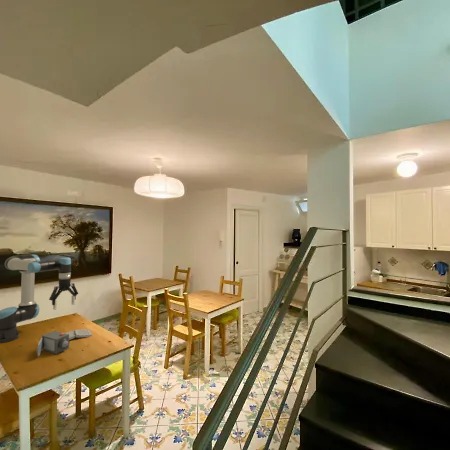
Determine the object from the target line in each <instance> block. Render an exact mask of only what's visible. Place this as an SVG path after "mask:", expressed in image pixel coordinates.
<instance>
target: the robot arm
mask: <svg viewBox="0 0 450 450" xmlns="http://www.w3.org/2000/svg"><path fill="white" fill-rule="evenodd" d="M4 267H5V268H6V269H7V270H10V271H18V272H19V273H20V274H21V286H20V287H21V289H20V290H21V291H20V303H18V305H17V306H18V307H17V306H9V307H6V308H1V310H0V344H1V343H2V344H3V343H8V341H9V342H12V341H15V340H17V339H19V337H20V332H19V331H18V328H17V327H18V326H17V324H18V323H22V322H24V321H25V322H26V321H30V320H32V319H35V318H37V316H39V314H40V306H39V304H38V303H37V302H36V301H35V277H36V276H35V275H36V274H35V273H42V272H48V271H49V272H50V271H56V270H57V271H58V286H56V285H55V286H54V287H53V290H52V293H51V294H50V297H49V298H48V300H49V301H51V305H52V309H53V310H57V302H58V301H57V299H58V297H60V295H61V293H62V292H65V291H66V292H67V291H68V292H69V293H70V294H71V305H72V306H74V305H76V304H75V303H76V301H75V300H76V297H77V295H79V291H78V289H77V288H76V285H75V283H72V281H71V275H72V272H71V271H72V259H71V257H60V258H59V259H50V260H41V259H40V257H39V255H37V254H31V253H30V254H23V255H22V254H21V255H13V256H10V257H8V258H7V259H5V262H4Z"/></svg>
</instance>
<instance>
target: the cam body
mask: <svg viewBox="0 0 450 450" xmlns="http://www.w3.org/2000/svg"><path fill="white" fill-rule="evenodd" d="M65 333H66V332H61V331H57V330H54V331H51V332H47V333H45V334H42V335H41V337H43V348H42V351H45V352H48V353H51V354H54V355H57V354H60V353H62V352H64V351H66V350H69V348H70V340H69V334H65Z"/></svg>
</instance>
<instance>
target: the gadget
mask: <svg viewBox="0 0 450 450" xmlns="http://www.w3.org/2000/svg"><path fill="white" fill-rule="evenodd" d="M64 333H65V334H69V341H70V340H73V339H75V338H90V337H93V334H92V332H91V330H90V328H86V329H82V328H81V329H74V330H70V331H67V332H64Z"/></svg>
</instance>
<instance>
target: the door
mask: <svg viewBox="0 0 450 450" xmlns="http://www.w3.org/2000/svg"><path fill="white" fill-rule="evenodd" d="M42 348H43V337H42V336H41V338H40V339H39V342H38V344H37V347H36V353H37V357H40V354H41V353H42V351H43V350H42Z"/></svg>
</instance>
